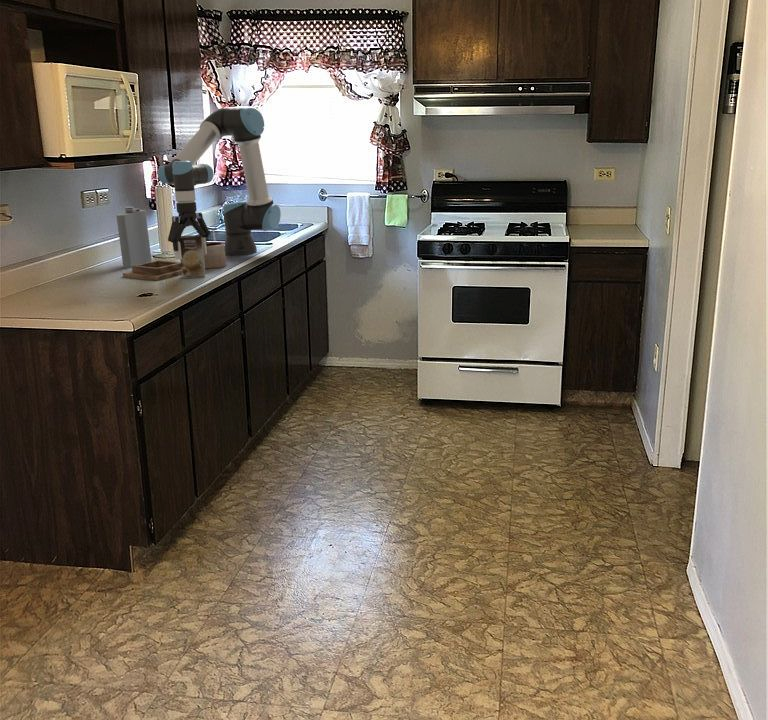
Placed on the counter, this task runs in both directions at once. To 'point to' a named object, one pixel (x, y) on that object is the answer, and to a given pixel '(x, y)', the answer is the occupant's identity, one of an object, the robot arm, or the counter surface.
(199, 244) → the coffee box
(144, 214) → the flask
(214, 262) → the planter
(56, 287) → the counter surface
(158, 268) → the holder
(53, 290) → the counter surface
